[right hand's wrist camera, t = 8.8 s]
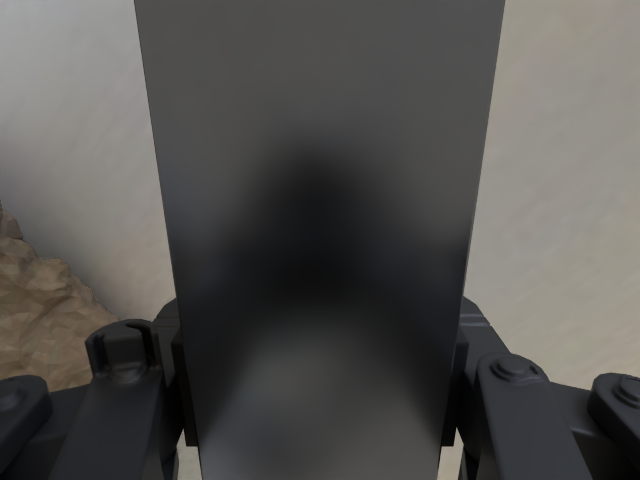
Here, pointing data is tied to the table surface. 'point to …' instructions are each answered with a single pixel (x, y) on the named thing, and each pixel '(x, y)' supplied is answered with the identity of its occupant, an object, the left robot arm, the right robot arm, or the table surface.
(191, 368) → the bar
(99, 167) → the table surface
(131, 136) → the table surface
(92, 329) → the stone
